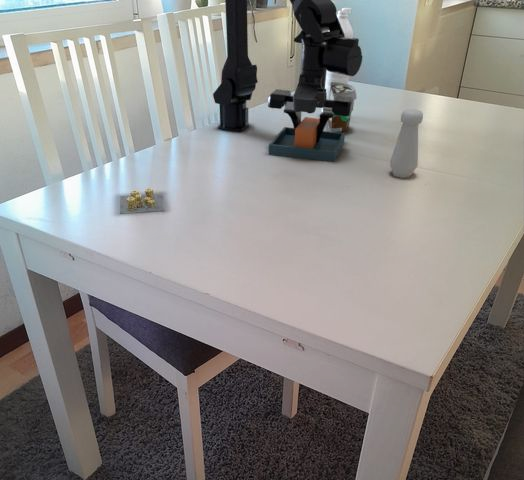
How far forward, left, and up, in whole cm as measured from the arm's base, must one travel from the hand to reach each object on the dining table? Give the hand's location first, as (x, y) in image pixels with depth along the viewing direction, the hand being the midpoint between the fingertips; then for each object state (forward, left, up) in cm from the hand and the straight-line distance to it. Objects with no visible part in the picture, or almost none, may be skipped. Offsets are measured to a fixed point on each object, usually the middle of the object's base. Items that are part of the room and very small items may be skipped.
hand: (307, 141), depth 127 cm
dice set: (-23, -41, -2) cm, 47 cm away
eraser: (0, 0, -1) cm, 1 cm away
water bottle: (+1, +29, -2) cm, 29 cm away
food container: (+5, +17, -2) cm, 18 cm away
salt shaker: (+23, -10, -2) cm, 25 cm away
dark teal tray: (0, 0, -2) cm, 2 cm away
